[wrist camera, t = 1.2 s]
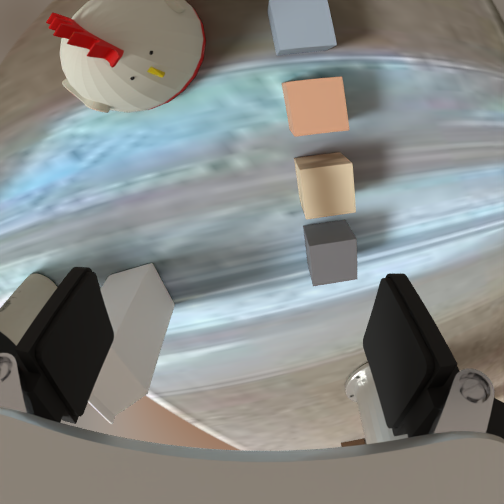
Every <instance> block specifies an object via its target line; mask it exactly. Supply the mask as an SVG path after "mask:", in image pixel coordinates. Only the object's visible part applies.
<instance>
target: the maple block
mask: <svg viewBox="0 0 504 504" xmlns="http://www.w3.org/2000/svg"><path fill="white" fill-rule="evenodd" d="M294 161H295V168H296V175H297V182H298V189H299V196H300V202H301V205H302V208H303V211H304V214H305V217H306V219H313V218H320V217H327V216H334V215H341V214H348V213H355V212H356V209H355V191H354V177H353V165H352V162H350V161H349V160H348V159H347V158H346V157H345V156H344V155H343V154H341V153H340V152H338V153H329V154H321V155H313V156H306V157H299V158H294Z"/></svg>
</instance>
